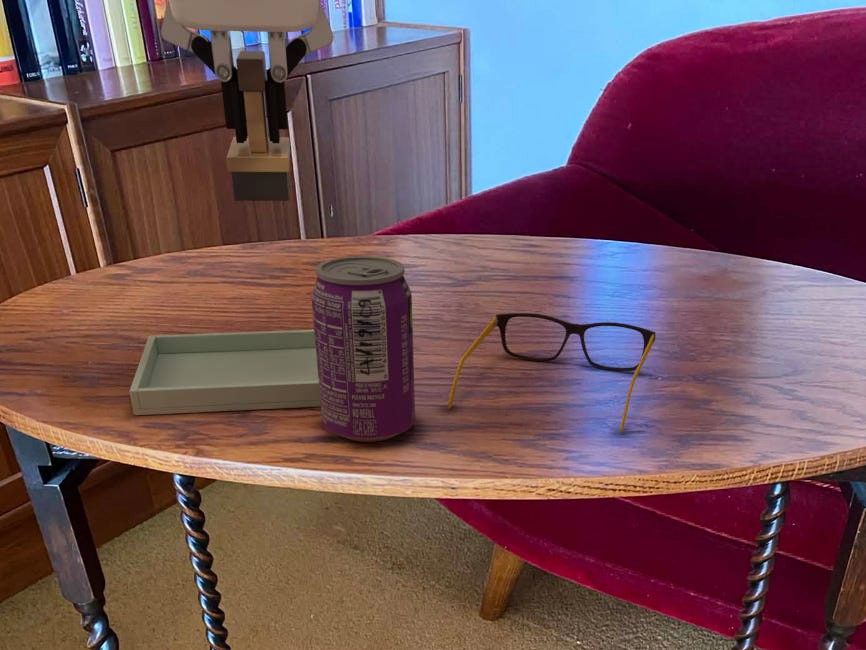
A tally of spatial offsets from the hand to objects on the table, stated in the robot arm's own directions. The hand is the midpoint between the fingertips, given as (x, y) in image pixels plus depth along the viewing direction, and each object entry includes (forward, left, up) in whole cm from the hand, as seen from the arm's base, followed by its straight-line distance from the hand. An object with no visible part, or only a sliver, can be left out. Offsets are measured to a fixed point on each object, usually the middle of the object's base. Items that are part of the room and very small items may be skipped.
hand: (258, 138), depth 73 cm
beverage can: (+7, -13, -18) cm, 24 cm away
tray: (-2, -2, -18) cm, 18 cm away
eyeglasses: (+23, -7, -18) cm, 30 cm away
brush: (0, 0, -4) cm, 4 cm away
